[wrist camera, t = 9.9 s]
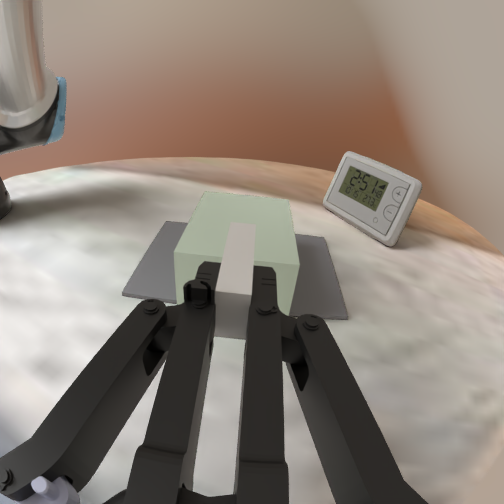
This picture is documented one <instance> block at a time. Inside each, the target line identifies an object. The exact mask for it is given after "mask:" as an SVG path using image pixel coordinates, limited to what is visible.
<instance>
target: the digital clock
mask: <svg viewBox="0 0 504 504" xmlns="http://www.w3.org/2000/svg"><path fill="white" fill-rule="evenodd" d="M421 190H422V184H421V182H420V181H419V180H417V179H415V178H413V177H411V176H408V175H406V174H404V173H403V172H401V171H399V170H397V169H394V168H392V167H390V166H388V165H385V164H383V163H380V162H378V161H375V160H373V159H371V158H368V157H364V156H361V155H359V154H356V153H353V152H349V151H348V152H347V153H345V154H344V156H343V158H342V160H341V162H340V164H339V167H338V169H337V171H336V173H335V175H334V178H333V180H332V182H331V184H330V186H329V189H328V191H327V193H326V195H325V197H324V200H323V205H324V207H325V208H327V209H328V210H330V211H332V212H333V213H335V215H336V216H337V217H339V218H341V219H342V220H344V221H346V222H347V223H349V224H351V225H352V226H354V227H355V228H357V229H359V230H360V231H362V232H363V233H365V234H367V235H368V236H370V237H371V238H373V239H377V240H379V241H380V242H382V243H383V244H385V245H387V246H390V247H391V246H394V245H395V244H396V242H397V241H398V239H399V237H400V235H401V233H402V231H403V229H404V227H405V225H406V223H407V221H408V219H409V217H410V215H411V213H412V210H413V208H414V206H415V204H416V202H417V200H418V197H419V195H420V193H421Z"/></svg>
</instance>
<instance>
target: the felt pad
mask: <svg viewBox="0 0 504 504" xmlns="http://www.w3.org/2000/svg"><path fill="white" fill-rule="evenodd" d="M187 225H188V223H182V222H171V221H166V222H165V224H164V225H163V227H162V228H161V230H160V231H159V233H158V234H157V236H156V237H155V239H154V241H153V242H152V244H151V245H150V247H149V248H148V250H147V252H146V253H145V255H144V256H143V258H142V260H141V261H140V263H139V265H138V266H137V268H136V269H135V271H134V273H133V274H132V276H131V278H130V279H129V281H128V283H127V285H126V286H125V288H124V290H123V291H122V295H123V296H128V297H135V298H141V299H158V300H160V301H162V302H168V303H176V304H177V298H176V284H175V268H174V250H175V248H176V246H177V244H178V242H179V240H180V238H181V236H182V234H183V232H184V230H185V228H186V226H187ZM295 238H296V245H297V251H298V257H299V263H300V266H299V271H298V276H297V280H296V285H295V289H294V294H293V298H292V303H291V307H290V312H289V316H298V317H300V316H301V315H304V314H313V315H317V316H319V317H320V318H327V319H344V320H347V318H348V315H347V311H346V308H345V304H344V301H343V297H342V294H341V290H340V287H339V284H338V280H337V277H336V274H335V271H334V267H333V264H332V261H331V258H330V255H329V251H328V248H327V245H326V242H325V239H324V237H317V236H309V235H300V234H295Z"/></svg>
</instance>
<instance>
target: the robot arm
mask: <svg viewBox="0 0 504 504" xmlns="http://www.w3.org/2000/svg"><path fill="white" fill-rule="evenodd" d="M65 110H66V80H65V78H63V77H55V74H54V73H53V72H52V71H51V70H50V69H49V68H48V67H46V64H45V54H44V42H43V23H42V0H0V155H2V154H6V153H10V152H13V151H17V150H22V149H26V148H30V147H34V146H39V145H46V144H48V143H51V142H56V141H58V140H60V139H61V137H62V136H63V133H64V125H65ZM10 208H11V201H10V196H9V193H8V191H7V190H6V188H5V185H4V183H3V181H2V179H1V177H0V219H1V218H2V217H3V216H5V215H6V214H7V213H8V211H9V210H10ZM255 231H256V224H247V223H236V222H231V223H230V227H229V231H228V236H227V240H226V244H225V249H224V253H223V258H222V262H221V263H218V262H208V261H204V262H203V263H202V264H201V265H200V266H199V267H198V270H197V274H196V276H195V279H194V280H190V281H188V282H187V283H185V285H184V286H183V293H184V302H183V303H182V304H179V305H175V306H167V307H166V305H165V304H164V303H163V302H162V301H160V300H158V299H147V300H144V301H142V302H141V303H139V304H138V305H137V306H136V307H135V309H134V310H133V311H132V312H131V313H130V314H129V316H128V317H127V318H126V319H125V320H124V321H123V323H122V324H121V325H120V326H119V327H118V328H117V330H116V331H115V332H114V333H113V334H112V336H111V337H110V338H109V339H108V340H107V342H106V343H105V344H104V345H103V346H102V348H101V349H100V350H99V351H98V352H97V354H96V355H95V356H94V357H93V359H92V360H91V361H90V362H89V363H88V365H87V366H86V367H85V368H84V370H83V371H82V372H81V373H80V375H79V376H78V377H77V378H76V380H75V381H74V382H73V383H72V385H71V386H70V387H69V388H68V390H67V391H66V392H65V394H64V395H63V396H62V397H61V399H60V400H59V401H58V403H57V404H56V405H55V407H54V408H53V409H52V411H51V412H50V413H49V414H48V416H47V417H46V418H45V420H44V421H43V423H42V424H41V425H40V427H39V428H38V429H37V431H36V432H35V433H34V435H33V436H32V437H31V438H30V439H29V440H27V441H26V442H24V443H23V444H21V445H20V446H18V447H16V448H15V449H13V450H12V451H10V452H9V453H7V454H6V455H4V456H3V457H1V458H0V493H1V494H3V495H5V496H7V497H8V498H10V499H12V500H13V501H14V502H15V503H16V504H80V498H79V495H78V492H79V491H81V490H82V488H83V487H84V486H85V485H86V484H87V483H88V482H89V481H90V479H91V478H92V476H93V475H94V474H95V472H96V470H97V469H98V467H99V465H100V464H101V462H102V461H103V459H104V457H105V456H106V454H107V452H108V451H109V449H110V448H111V446H112V444H113V443H114V441H115V439H116V438H117V436H118V435H119V433H120V431H121V430H122V428H123V427H124V425H125V423H126V422H127V420H128V419H129V417H130V415H131V414H132V412H133V411H134V409H135V407H136V406H137V404H138V403H139V401H140V400H141V398H142V396H143V395H144V393H145V392H146V390H147V388H148V387H149V385H150V384H151V382H152V381H153V379H154V377H155V376H156V374H157V373H158V371H159V370H160V368H161V366H162V365H163V363H164V362H165V360H166V362H165V365H164V369H163V372H162V376H161V379H160V383H159V386H158V390H157V394H156V397H155V401H154V405H153V408H152V412H151V416H150V420H149V424H148V427H147V431H146V435H145V439H144V442H143V444H142V445H141V446H139V447H138V449H137V450H136V453H135V457H134V461H133V465H132V469H131V473H130V477H129V481H128V486H127V489H125V490H123V491H121V492H119V493H118V494H116V495H115V496H113V497H112V498H111V499H109V500H108V501H106V502H105V503H103V504H289V476H288V466H287V463H286V462H285V455H284V405H283V372H282V361H284V362H286V366H287V369H288V371H289V374H290V377H291V380H292V383H293V385H294V388H295V391H296V394H297V397H298V399H299V402H300V405H301V408H302V411H303V413H304V416H305V419H306V422H307V425H308V427H309V430H310V433H311V436H312V439H313V441H314V444H315V447H316V450H317V452H318V455H319V458H320V461H321V463H322V466H323V469H324V472H325V475H326V477H327V480H328V483H329V486H330V488H331V491H332V494H333V497H334V499H335V502H336V504H428V503H427V502H426V501H425V500H424V499H423V498H422V497H421V496H420V495H419V494H418V493H417V492H416V491H414V490H413V489H412V488H411V487H410V486H409V485H408V484H407V483H406V482H405V481H404V479H403V477H402V475H401V473H400V471H399V468H398V466H397V464H396V462H395V460H394V458H393V456H392V454H391V451H390V449H389V447H388V445H387V443H386V441H385V439H384V437H383V435H382V433H381V431H380V429H379V427H378V425H377V422H376V420H375V418H374V416H373V414H372V412H371V410H370V408H369V406H368V404H367V402H366V400H365V398H364V396H363V394H362V392H361V390H360V388H359V386H358V384H357V382H356V380H355V378H354V376H353V374H352V372H351V371H350V369H349V367H348V365H347V363H346V361H345V359H344V357H343V355H342V353H341V351H340V349H339V347H338V345H337V343H336V342H335V340H334V338H333V336H332V334H331V332H330V330H329V328H328V326H327V324H326V323H325V321H324V320H323V319H322V318H320V317H319V316H317V315H313V314H304V315H301V316H300V317H298V319H295V318H292V317H290V316H287V315H285V314H284V313H282V312H281V311H280V309H279V307H278V301H277V281H276V280H277V279H276V272H275V271H274V269H273V268H272V267H266V266H255V265H253V264H254V248H255ZM214 336H215V337H224V338H234V339H244V340H246V343H245V351H244V366H243V379H242V392H241V405H240V418H239V431H238V444H237V457H236V470H235V482H234V492H233V494H231V495H224V496H215V497H207V496H204V495H201V494H198V493H196V492H193V473H194V466H195V459H196V452H197V445H198V438H199V432H200V425H201V419H202V412H203V406H204V399H205V393H206V387H207V381H208V375H209V368H210V362H211V356H212V350H213V338H214Z"/></svg>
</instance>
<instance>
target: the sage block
mask: <svg viewBox="0 0 504 504" xmlns="http://www.w3.org/2000/svg"><path fill="white" fill-rule="evenodd" d="M231 222H236V223H247V224H256V231H255V248H254V264H253V265H255V266H266V267H272V268H273V269H274V271H275V272H276V279H277V280H276V281H277V301H278V307H279V309H280V311H281V312H282V313H284V314H285V315H287V316H289V312H290V307H291V303H292V298H293V294H294V289H295V285H296V280H297V276H298V271H299V266H300V263H299V257H298V251H297V245H296V238H295V233H294V227H293V221H292V215H291V209H290V204H289V200H287V199H278V198H270V197H260V196H251V195H240V194H230V193H219V192H207V191H205V192H204V194H203V196H202V198H201V200H200V202H199V203H198V205H197V207H196V209H195V211H194V213H193V215H192V217H191V219H190V221H189V223H188V225H187V226H186V228H185V230H184V232H183V234H182V236H181V238H180V240H179V242H178V244H177V246H176V248H175V250H174V268H175V284H176V298H177V305H179V304H182V303H183V302H184V293H183V286H184V285H185V283H187V282H188V281H190V280H194V279H195V276H196V274H197V270H198V267H199V266H200V265H201V264H202V263H203V262H204V261H208V262H218V263H221V262H222V258H223V253H224V249H225V244H226V240H227V236H228V231H229V227H230V223H231Z"/></svg>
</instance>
